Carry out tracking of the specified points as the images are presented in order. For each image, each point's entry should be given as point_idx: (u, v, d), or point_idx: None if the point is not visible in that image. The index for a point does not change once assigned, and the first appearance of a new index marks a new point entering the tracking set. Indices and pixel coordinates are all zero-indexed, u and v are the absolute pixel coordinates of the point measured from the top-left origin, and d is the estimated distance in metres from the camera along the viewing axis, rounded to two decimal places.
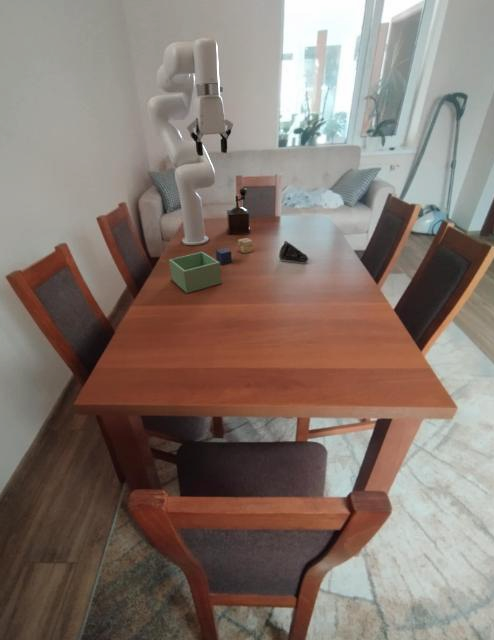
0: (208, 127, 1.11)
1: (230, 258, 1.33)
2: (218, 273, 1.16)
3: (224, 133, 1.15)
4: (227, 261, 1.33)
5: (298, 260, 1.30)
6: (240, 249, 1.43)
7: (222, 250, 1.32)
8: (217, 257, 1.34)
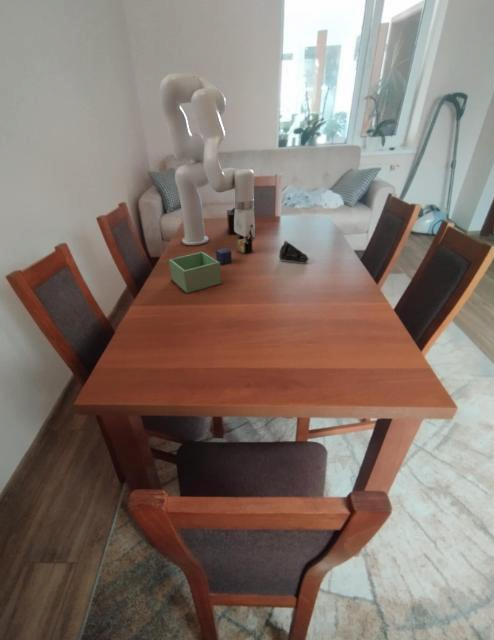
0: None
1: (230, 258, 1.33)
2: (218, 273, 1.16)
3: None
4: (227, 261, 1.33)
5: (298, 260, 1.30)
6: (240, 249, 1.43)
7: (222, 250, 1.32)
8: (217, 257, 1.34)
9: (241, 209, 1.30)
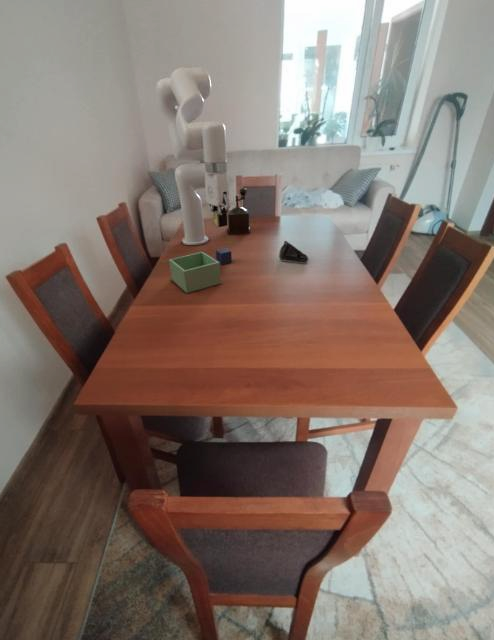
0: None
1: (230, 258, 1.33)
2: (218, 273, 1.16)
3: None
4: (227, 261, 1.33)
5: (298, 260, 1.30)
6: (214, 223, 1.22)
7: (222, 250, 1.32)
8: (217, 257, 1.34)
9: (212, 172, 1.09)
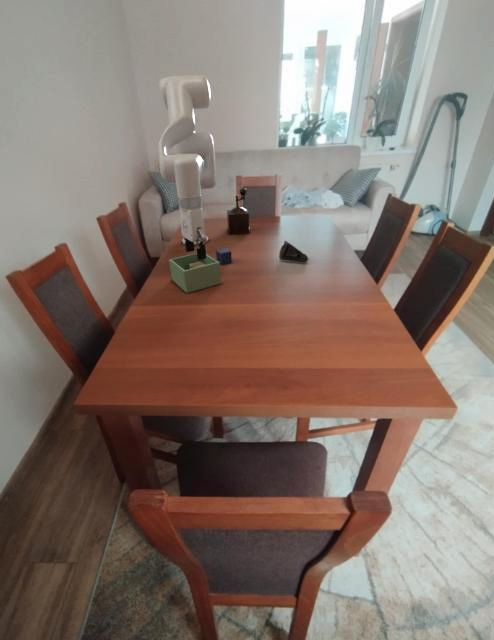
0: None
1: (230, 258, 1.33)
2: (218, 273, 1.16)
3: None
4: (227, 261, 1.33)
5: (298, 260, 1.30)
6: None
7: (222, 250, 1.32)
8: (217, 257, 1.34)
9: (185, 208, 1.04)
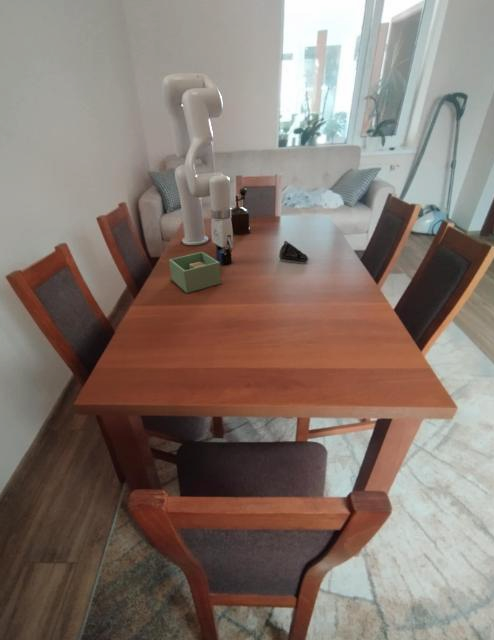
0: None
1: None
2: (218, 273, 1.16)
3: None
4: None
5: (298, 260, 1.30)
6: None
7: (222, 250, 1.32)
8: (217, 257, 1.34)
9: (217, 218, 1.21)
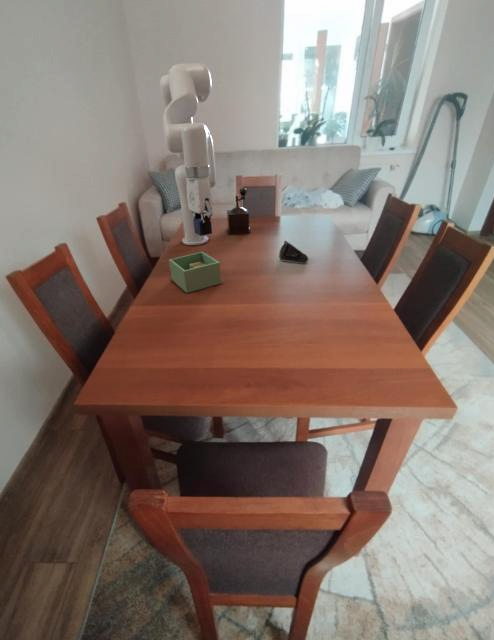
0: None
1: None
2: (218, 273, 1.16)
3: None
4: None
5: (298, 260, 1.30)
6: None
7: (200, 219, 1.13)
8: (195, 227, 1.14)
9: (192, 177, 1.02)
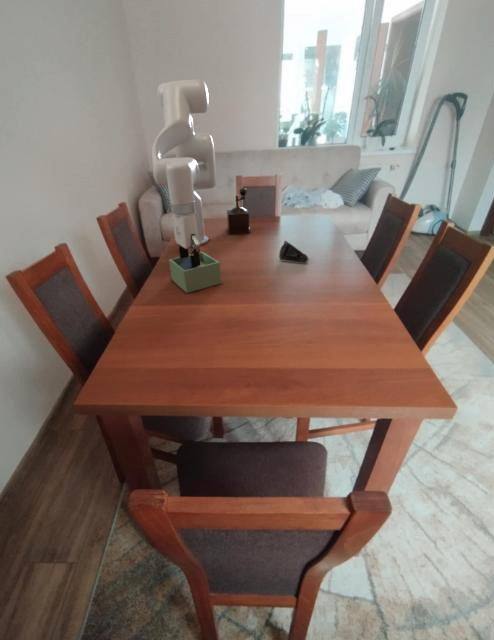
0: None
1: None
2: (218, 273, 1.16)
3: None
4: None
5: (298, 260, 1.30)
6: None
7: (185, 264, 1.13)
8: None
9: (178, 214, 1.01)
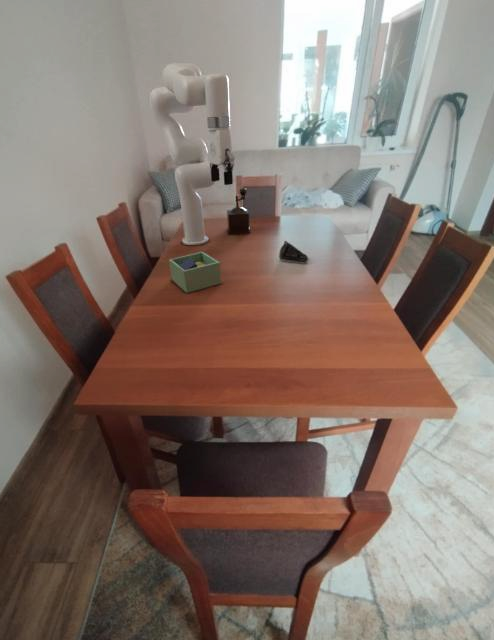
0: None
1: None
2: (218, 273, 1.16)
3: None
4: None
5: (298, 260, 1.30)
6: None
7: (185, 264, 1.13)
8: None
9: (214, 127, 1.06)
